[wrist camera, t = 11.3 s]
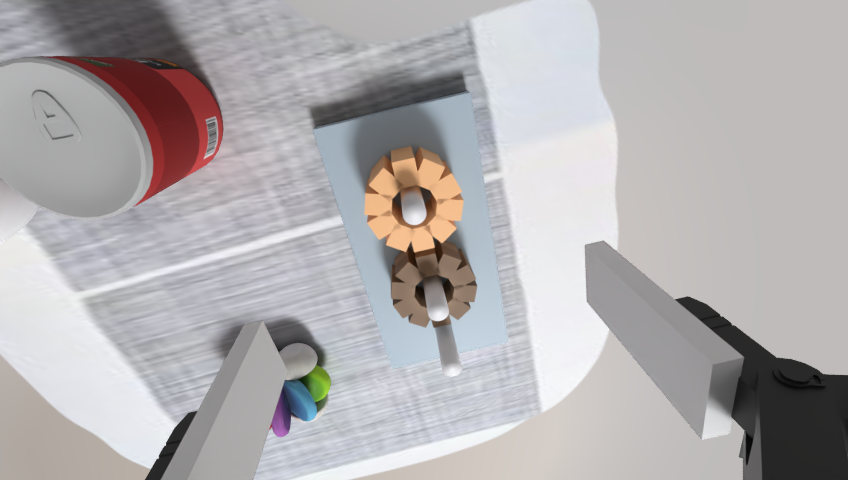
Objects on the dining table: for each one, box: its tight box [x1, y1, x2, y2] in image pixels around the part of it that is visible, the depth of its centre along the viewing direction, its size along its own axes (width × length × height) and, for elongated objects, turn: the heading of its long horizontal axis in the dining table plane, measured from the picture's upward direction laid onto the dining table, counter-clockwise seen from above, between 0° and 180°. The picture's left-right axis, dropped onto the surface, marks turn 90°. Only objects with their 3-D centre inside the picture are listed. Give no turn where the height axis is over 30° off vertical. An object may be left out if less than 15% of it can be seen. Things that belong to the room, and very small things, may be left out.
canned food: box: [0, 56, 223, 220], centre depth 24 cm, size 8×8×11 cm
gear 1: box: [364, 146, 464, 252], centre depth 30 cm, size 7×7×4 cm
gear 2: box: [391, 240, 477, 328], centre depth 33 cm, size 7×7×3 cm
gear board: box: [313, 91, 508, 377], centre depth 32 cm, size 24×12×8 cm, turn 12°
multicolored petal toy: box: [269, 343, 331, 437], centre depth 37 cm, size 8×10×7 cm
